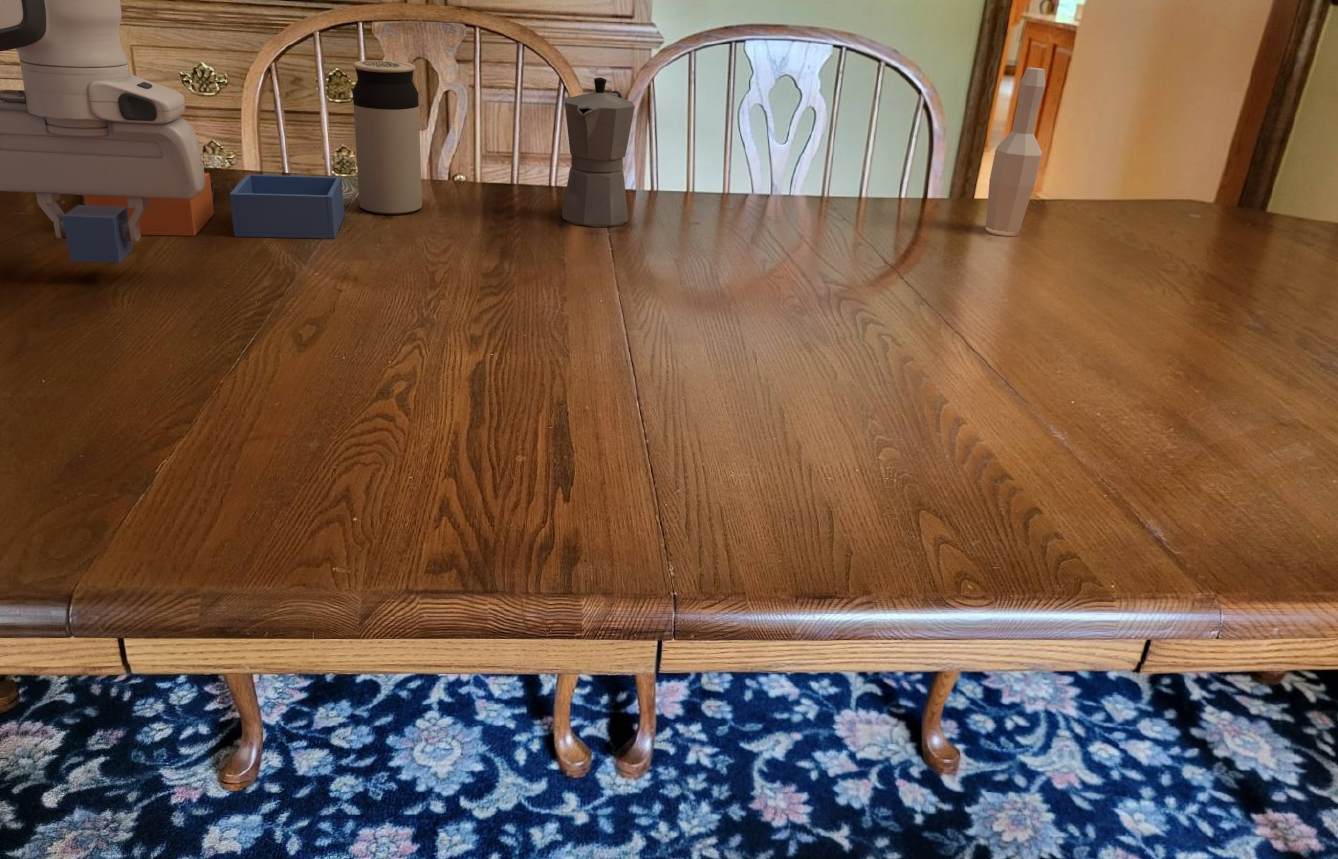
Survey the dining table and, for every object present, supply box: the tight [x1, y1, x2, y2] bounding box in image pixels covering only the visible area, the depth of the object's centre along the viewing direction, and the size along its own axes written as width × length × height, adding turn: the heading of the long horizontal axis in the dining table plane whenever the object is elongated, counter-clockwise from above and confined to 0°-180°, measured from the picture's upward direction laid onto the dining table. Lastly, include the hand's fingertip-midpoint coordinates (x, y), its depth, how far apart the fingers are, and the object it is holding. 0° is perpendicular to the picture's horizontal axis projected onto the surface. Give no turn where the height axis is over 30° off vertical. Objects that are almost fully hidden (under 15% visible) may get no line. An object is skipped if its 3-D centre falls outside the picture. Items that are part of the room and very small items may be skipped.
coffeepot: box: [561, 77, 636, 228], centre depth 137 cm, size 15×9×18 cm, turn 165°
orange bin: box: [83, 172, 215, 237], centre depth 124 cm, size 11×10×5 cm
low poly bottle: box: [985, 67, 1046, 237], centre depth 144 cm, size 6×6×22 cm
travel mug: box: [352, 59, 423, 216], centre depth 134 cm, size 8×8×18 cm
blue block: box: [63, 204, 133, 264], centre depth 104 cm, size 4×4×4 cm
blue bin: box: [229, 173, 345, 240], centre depth 126 cm, size 11×10×5 cm
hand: (99, 238), depth 104 cm, fingers closed on blue block, 4 cm apart
